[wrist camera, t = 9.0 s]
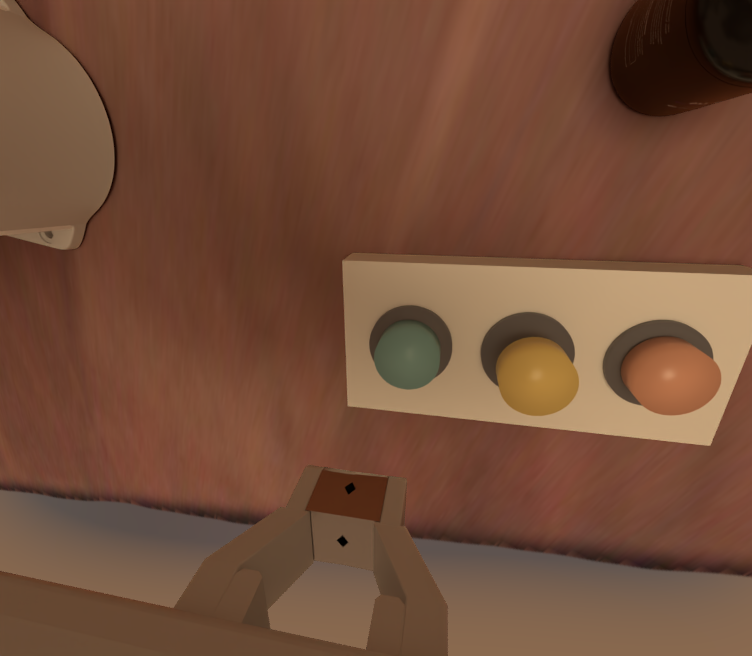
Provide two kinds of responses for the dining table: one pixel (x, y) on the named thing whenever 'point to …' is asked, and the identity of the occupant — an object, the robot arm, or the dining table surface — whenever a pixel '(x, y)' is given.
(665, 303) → the button panel
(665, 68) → the supplement bottle
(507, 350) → the mustard button
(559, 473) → the dining table surface
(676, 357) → the terracotta button
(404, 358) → the teal button
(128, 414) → the dining table surface
